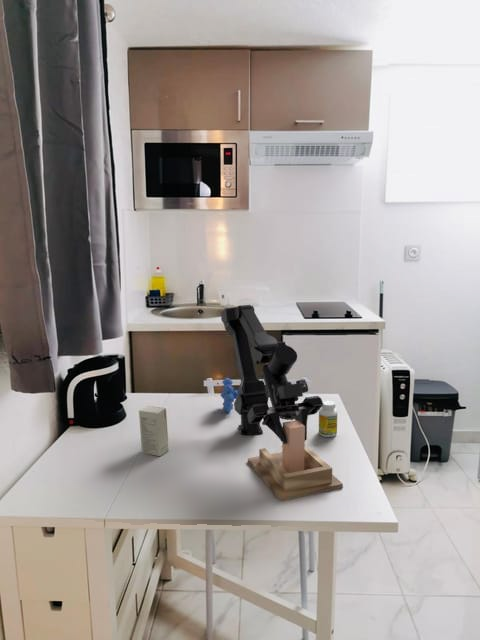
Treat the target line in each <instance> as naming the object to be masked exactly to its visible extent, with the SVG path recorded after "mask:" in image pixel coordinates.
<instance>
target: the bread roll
mask: <svg viewBox="0 0 480 640" xmlns="http://www.w3.org/2000/svg"><path fill="white" fill-rule="evenodd" d="M279 415H280V418H282V419H286V420H289V421H290V420H291V421H295V418H296V416H297V414H296V412H289V413H283V414H279Z"/></svg>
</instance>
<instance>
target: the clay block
mask: <svg viewBox="0 0 480 640" xmlns="http://www.w3.org/2000/svg"><path fill="white" fill-rule="evenodd" d="M282 427H283V430H284V433H285V436H286V439H287V443H286V444H284V443H283V442H282V441H281V442H282V446H281V447H282V467H283V468H284V469H285V470H286V471H287V472H288V473H293V472H298V471H303V470H304V450H305V445H306V444H305V443H306V441H305V426H304V425H303V424H302V423H300V422H299V421H298V420H295V419H294V420H291V421H290V420H289V421H284V422H282Z"/></svg>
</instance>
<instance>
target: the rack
mask: <svg viewBox="0 0 480 640" xmlns="http://www.w3.org/2000/svg"><path fill="white" fill-rule="evenodd" d="M258 451H259V455H258V456H253V457H248V458H247V462H248V465H250V466H251V467H252V469H253V470H254V471H255V472H256V474H258V476H259V477H260V478H261V480H262V481H263V482H264V483H265V485H267V487H268V488H269V489H270V490H271V492H272V493H273V494H274V495H275V497H276V498H277V499H278V500H279V501H280V502H281V501H286V500H291V499H295V498H300V497H305V496H309V495H315V494H320V493H324V492H328V491H333V490H338V489H343V487H344V483H343V482H342V481H340V480H339V479H338V478H337V477H336V476H335V475H334V474H333V467H332V466H330V464H328V463H327V462H326V461H324V459H322V458H321V457H320V456H319V455H318V454H317V453H315V451H313V450H312V449H311V448H310V447H309V446H307V444H305V450H304V470H303V471H298V472H293V473H288V472H287V471H286V470H285V469H284V468H283V467H282V452H281V451H280V452H276V453H270V452H269V451H268V450H267V449H266V448H259V449H258Z"/></svg>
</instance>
